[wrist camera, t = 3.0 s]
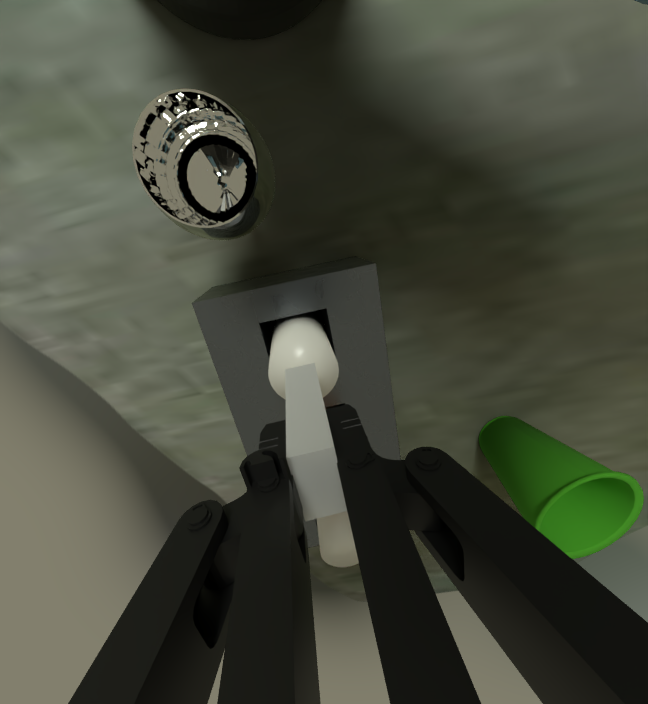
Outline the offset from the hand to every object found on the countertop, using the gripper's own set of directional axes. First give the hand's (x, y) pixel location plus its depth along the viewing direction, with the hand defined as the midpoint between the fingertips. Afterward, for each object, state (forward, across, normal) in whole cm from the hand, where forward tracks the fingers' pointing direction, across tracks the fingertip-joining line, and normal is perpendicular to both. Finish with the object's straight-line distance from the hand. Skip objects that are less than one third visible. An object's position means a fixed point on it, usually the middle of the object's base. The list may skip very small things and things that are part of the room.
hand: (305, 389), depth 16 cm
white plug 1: (+9, 0, 0) cm, 9 cm away
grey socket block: (+12, 0, -7) cm, 14 cm away
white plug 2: (+9, 0, -15) cm, 17 cm away
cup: (+12, +19, -17) cm, 29 cm away
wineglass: (+12, -2, +11) cm, 16 cm away
